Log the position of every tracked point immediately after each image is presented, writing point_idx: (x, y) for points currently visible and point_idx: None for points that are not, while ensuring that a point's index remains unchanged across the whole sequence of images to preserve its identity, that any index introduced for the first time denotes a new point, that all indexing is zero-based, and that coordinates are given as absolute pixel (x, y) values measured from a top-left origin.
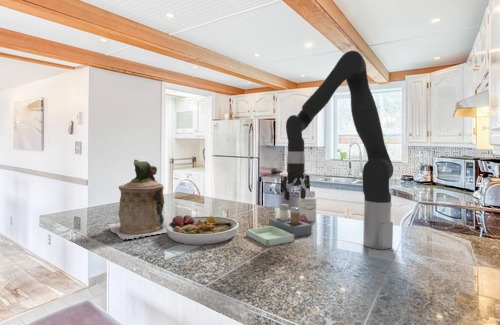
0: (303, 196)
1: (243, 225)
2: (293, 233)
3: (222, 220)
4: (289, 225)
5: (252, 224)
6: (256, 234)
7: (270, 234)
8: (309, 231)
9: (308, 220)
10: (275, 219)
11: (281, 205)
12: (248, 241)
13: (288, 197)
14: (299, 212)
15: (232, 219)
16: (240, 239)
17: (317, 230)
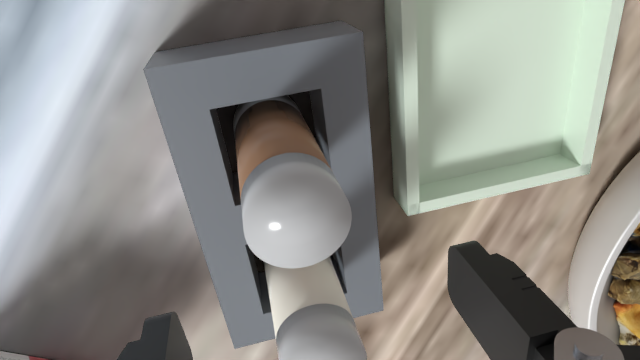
0: (171, 337)
1: (466, 327)
2: (346, 25)
3: (605, 333)
4: (348, 114)
5: (415, 336)
6: (611, 56)
7: (455, 118)
8: (175, 52)
9: (24, 357)
10: (352, 289)
11: (363, 349)
12: (620, 53)
13: (489, 263)
14: (260, 165)
15: (591, 314)
16: (627, 104)
17: (55, 124)
